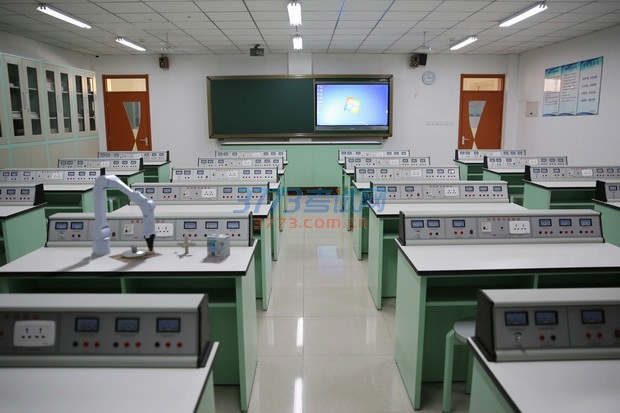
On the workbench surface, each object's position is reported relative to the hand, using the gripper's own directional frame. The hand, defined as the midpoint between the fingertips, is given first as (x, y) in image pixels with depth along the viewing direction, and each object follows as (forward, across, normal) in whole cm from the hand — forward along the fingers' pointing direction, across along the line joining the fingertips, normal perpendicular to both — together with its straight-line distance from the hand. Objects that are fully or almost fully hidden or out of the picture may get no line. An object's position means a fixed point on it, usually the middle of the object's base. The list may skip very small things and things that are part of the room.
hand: (150, 248), depth 234 cm
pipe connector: (+5, +5, -18) cm, 19 cm away
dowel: (+4, +5, +1) cm, 6 cm away
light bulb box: (+5, -2, -35) cm, 36 cm away
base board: (+5, +1, +8) cm, 10 cm away
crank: (+4, +1, +7) cm, 8 cm away
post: (+2, +1, +8) cm, 9 cm away
